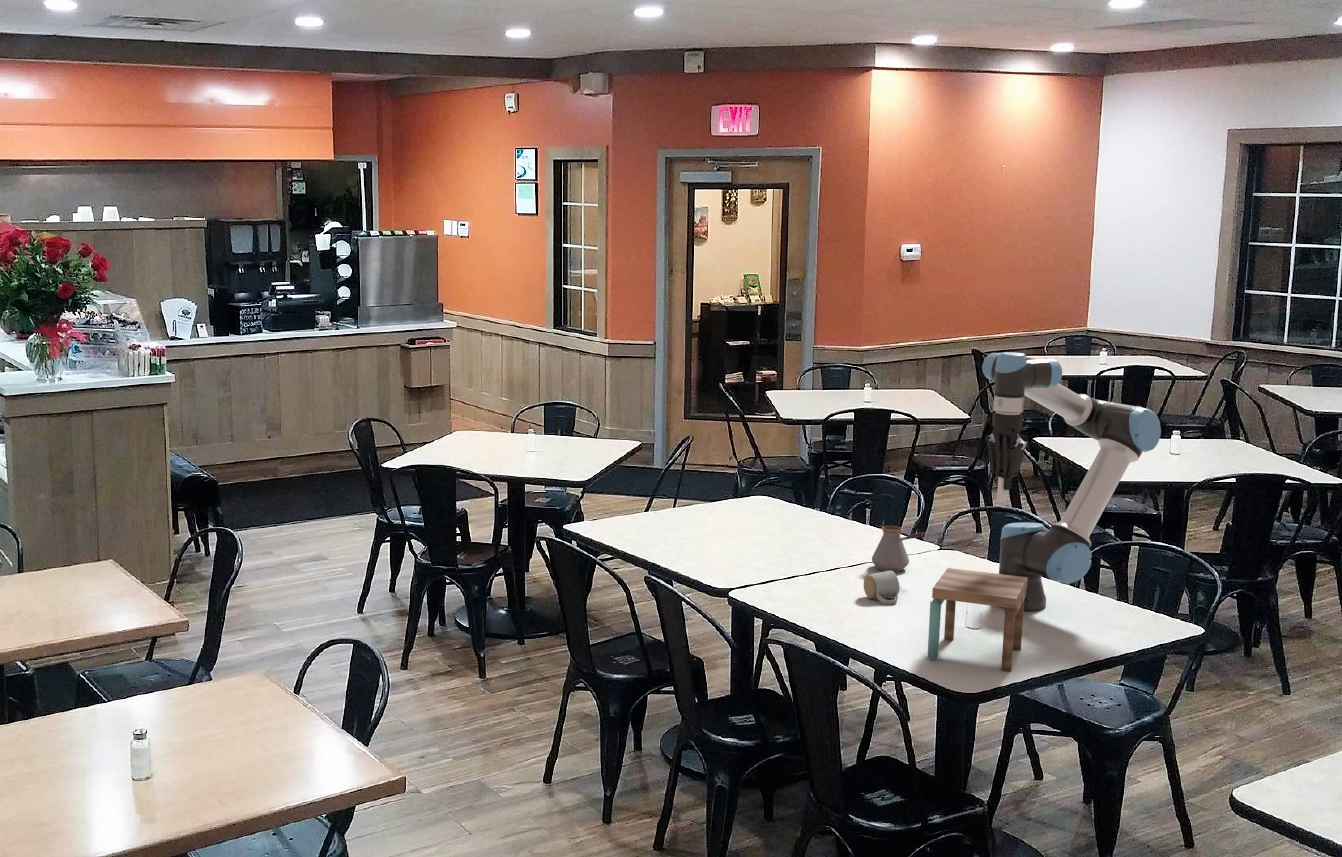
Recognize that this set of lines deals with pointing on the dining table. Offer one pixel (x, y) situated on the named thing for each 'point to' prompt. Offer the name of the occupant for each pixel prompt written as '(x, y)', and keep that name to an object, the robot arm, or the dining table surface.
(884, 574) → the ceramic mug
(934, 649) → the folding leg
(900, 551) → the coffee pot
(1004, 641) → the stool
